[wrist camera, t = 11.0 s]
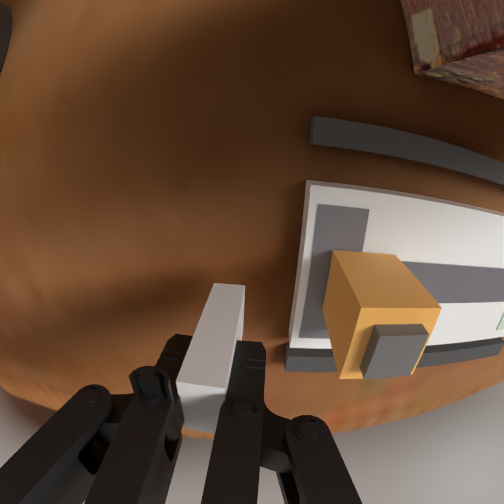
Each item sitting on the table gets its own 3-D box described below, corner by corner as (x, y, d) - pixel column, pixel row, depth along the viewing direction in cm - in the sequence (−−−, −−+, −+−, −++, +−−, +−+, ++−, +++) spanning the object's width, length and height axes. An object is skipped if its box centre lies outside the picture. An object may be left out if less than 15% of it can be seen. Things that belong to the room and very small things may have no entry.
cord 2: (286, 342, 21) (287, 356, 20) (497, 333, 21) (504, 342, 19) (284, 357, 22) (284, 371, 21) (491, 345, 21) (498, 354, 20)
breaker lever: (332, 250, 16) (366, 319, 10) (394, 254, 16) (450, 318, 10) (322, 309, 18) (341, 391, 11) (379, 310, 17) (417, 385, 11)
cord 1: (310, 118, 15) (314, 115, 14) (543, 182, 15) (554, 186, 13) (309, 143, 16) (313, 144, 15) (541, 199, 15) (552, 203, 14)
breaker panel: (306, 179, 17) (310, 185, 15) (536, 222, 16) (550, 229, 14) (288, 330, 21) (289, 348, 19) (502, 324, 20) (512, 335, 18)
